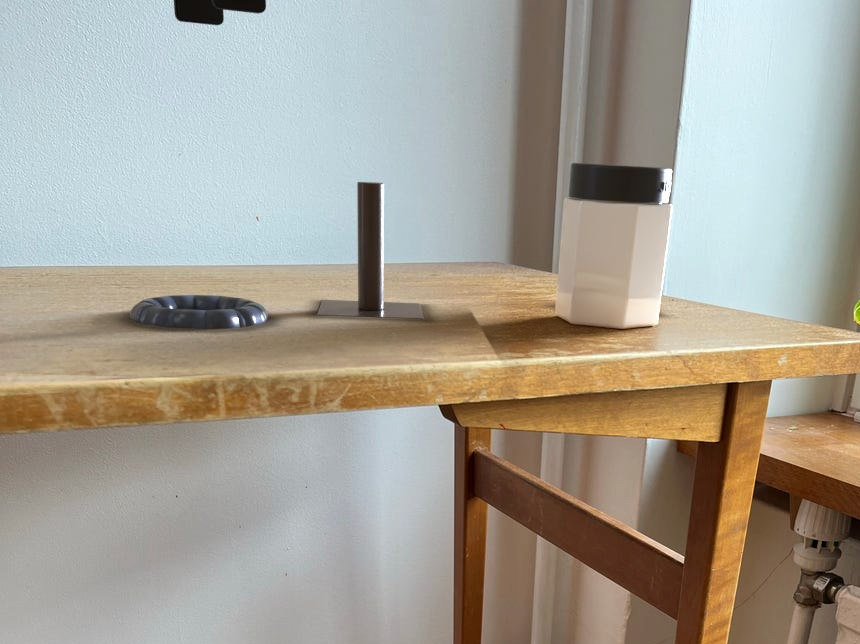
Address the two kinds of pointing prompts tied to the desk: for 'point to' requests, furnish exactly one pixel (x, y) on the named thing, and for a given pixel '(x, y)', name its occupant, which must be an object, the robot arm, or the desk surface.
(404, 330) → the desk surface
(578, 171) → the jar
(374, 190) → the post
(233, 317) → the ring
